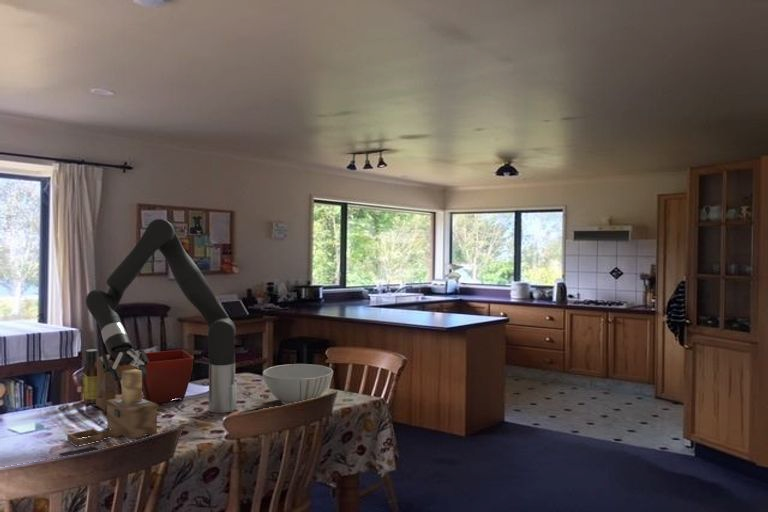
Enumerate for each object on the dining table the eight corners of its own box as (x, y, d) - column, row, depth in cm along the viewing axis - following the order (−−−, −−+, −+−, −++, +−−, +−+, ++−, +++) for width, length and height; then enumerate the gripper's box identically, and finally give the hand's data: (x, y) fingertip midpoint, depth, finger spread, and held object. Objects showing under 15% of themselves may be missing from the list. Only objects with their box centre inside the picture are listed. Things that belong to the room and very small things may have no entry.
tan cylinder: (135, 398, 203) (135, 368, 202) (141, 401, 200) (141, 370, 199) (121, 401, 199) (121, 370, 199) (127, 404, 196) (127, 373, 196)
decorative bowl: (322, 414, 221) (322, 380, 220) (251, 409, 225) (251, 377, 225) (340, 395, 247) (340, 365, 247) (276, 391, 251) (276, 362, 251)
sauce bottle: (86, 399, 236) (86, 348, 236) (103, 399, 237) (103, 348, 236) (79, 404, 230) (79, 351, 229) (97, 403, 230) (97, 351, 230)
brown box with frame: (134, 421, 209) (134, 394, 209) (158, 432, 198) (158, 403, 197) (62, 437, 192) (61, 407, 191) (83, 450, 180) (83, 418, 180)
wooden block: (105, 412, 220) (105, 362, 219) (95, 405, 228) (95, 357, 227) (115, 410, 222) (115, 360, 222) (105, 403, 230) (105, 356, 230)
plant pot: (141, 407, 226) (141, 362, 225) (133, 396, 242) (133, 353, 242) (194, 401, 236) (194, 357, 235) (182, 390, 252) (183, 349, 251)
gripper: (97, 334, 199) (113, 375, 192) (140, 330, 210) (156, 368, 202) (91, 348, 203) (106, 389, 196) (133, 343, 214) (148, 381, 206)
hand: (131, 378), depth 199 cm, fingers open, 8 cm apart
